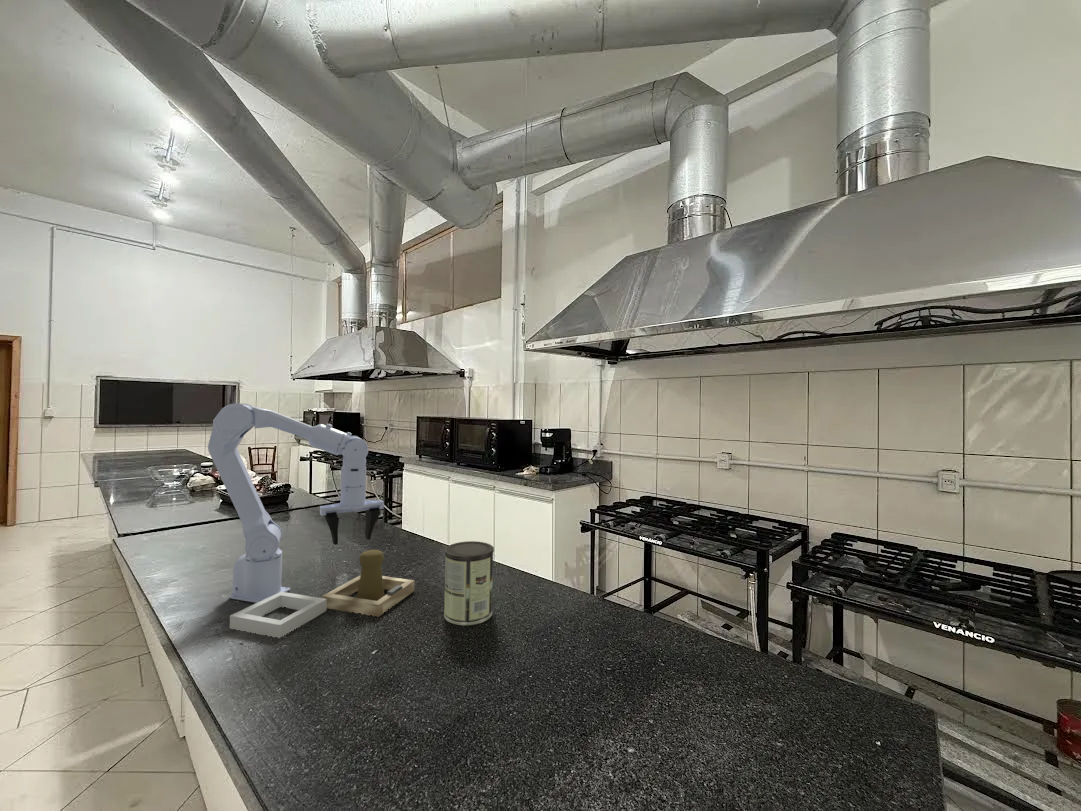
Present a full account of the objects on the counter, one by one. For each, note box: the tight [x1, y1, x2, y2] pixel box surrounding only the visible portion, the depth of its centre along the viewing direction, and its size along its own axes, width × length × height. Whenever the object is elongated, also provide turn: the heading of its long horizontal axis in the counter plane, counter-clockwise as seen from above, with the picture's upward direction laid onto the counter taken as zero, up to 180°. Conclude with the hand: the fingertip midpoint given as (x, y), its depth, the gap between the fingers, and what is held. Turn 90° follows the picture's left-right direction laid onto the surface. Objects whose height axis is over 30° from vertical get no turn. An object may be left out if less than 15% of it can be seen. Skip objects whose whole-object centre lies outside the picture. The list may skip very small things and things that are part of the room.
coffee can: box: [443, 540, 495, 626], centre depth 95 cm, size 10×10×14 cm
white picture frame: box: [229, 591, 328, 639], centre depth 91 cm, size 12×12×2 cm
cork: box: [356, 549, 385, 601], centre depth 101 cm, size 6×6×11 cm
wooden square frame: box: [321, 574, 416, 618], centre depth 101 cm, size 14×14×3 cm
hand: (351, 541), depth 110 cm, fingers open, 7 cm apart
